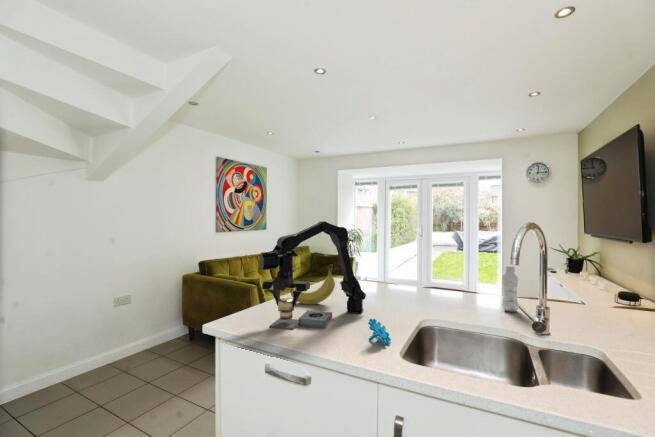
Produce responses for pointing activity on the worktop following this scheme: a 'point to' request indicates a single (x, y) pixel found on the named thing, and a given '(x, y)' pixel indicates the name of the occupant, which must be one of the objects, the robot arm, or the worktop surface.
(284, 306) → the end cover
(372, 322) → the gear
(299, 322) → the housing
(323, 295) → the banana
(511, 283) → the plastic bottle
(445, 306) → the worktop surface
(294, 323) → the mat
